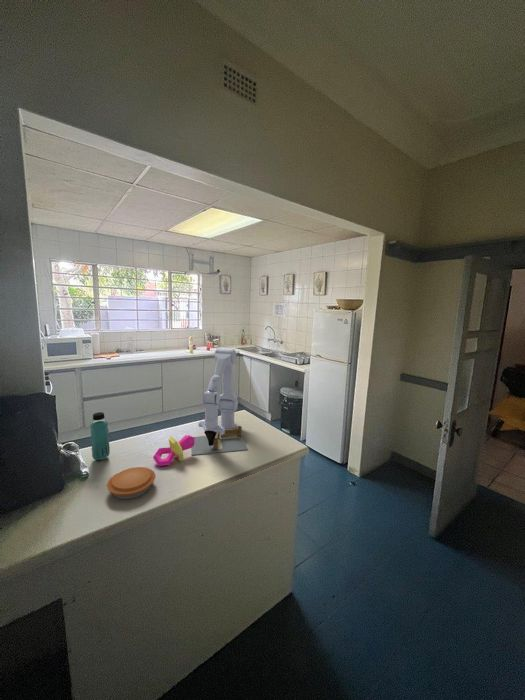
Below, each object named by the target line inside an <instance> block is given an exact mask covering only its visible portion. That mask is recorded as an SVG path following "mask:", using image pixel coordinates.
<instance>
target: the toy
mask: <svg viewBox="0 0 525 700" xmlns="http://www.w3.org/2000/svg"><path fill="white" fill-rule="evenodd" d="M194 437H195V436H192V435H191V434H186V435H184V436H183V437H182V438H181V439H180V440H179V441H177V440H176V439H174V437H172V436H170V437H169V438H168V442H169V443H168V444H169V447H159V448H157V450H156V452H155V453H154V455H153V456H152V458H153V460H154V462H155V463H156V465H157V466H158V467H163V466H170V465H171V463H172V462H173V460H174V458H176V459H178V461H179V462H184V460H185V459H184V452H183V451H187V450H189V449H191V448H192V447H193V446H194V441H195V438H194ZM163 455H167V456H166V458H162V456H163Z"/></svg>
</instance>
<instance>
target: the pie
mask: <svg viewBox="0 0 525 700" xmlns="http://www.w3.org/2000/svg"><path fill="white" fill-rule="evenodd" d="M155 479H156V473H155V471H154V470H152V469H151V468H148V467H143V466H140V467H139V466H138V467H137V466H136V467H130V468H126V469H123V470H122V471H120V472H117V473H115V474H113V475H112V476H111V477H110V478H109V479H108V481H107V483H106V487H107V490H108V491H109V493H111V494H113V495H114V496H115V497H116V498H118V499H120V500H131V499H136V498H139V497H141V496H143V495H144V494H145V493H146V492H147V491H149V488H150V487H151V485H153V483H154V482H155Z"/></svg>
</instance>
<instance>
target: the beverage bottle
mask: <svg viewBox="0 0 525 700" xmlns="http://www.w3.org/2000/svg"><path fill="white" fill-rule="evenodd" d="M92 420H93V422H92V423H91V424H90V425H89V426H90V439H91V455H92V456H91V457H92V459H93V460H95V461H98V460H104V459H106V458H107V457H109V456H110V454H111V453H110V451H111V450H110V439H109V437H110V435H109V424H108V423H109V422H108V421H107V420H106V419H105V413H104V412H103V411H102V412H101V411H100V412H95V413H93V414H92Z"/></svg>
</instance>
